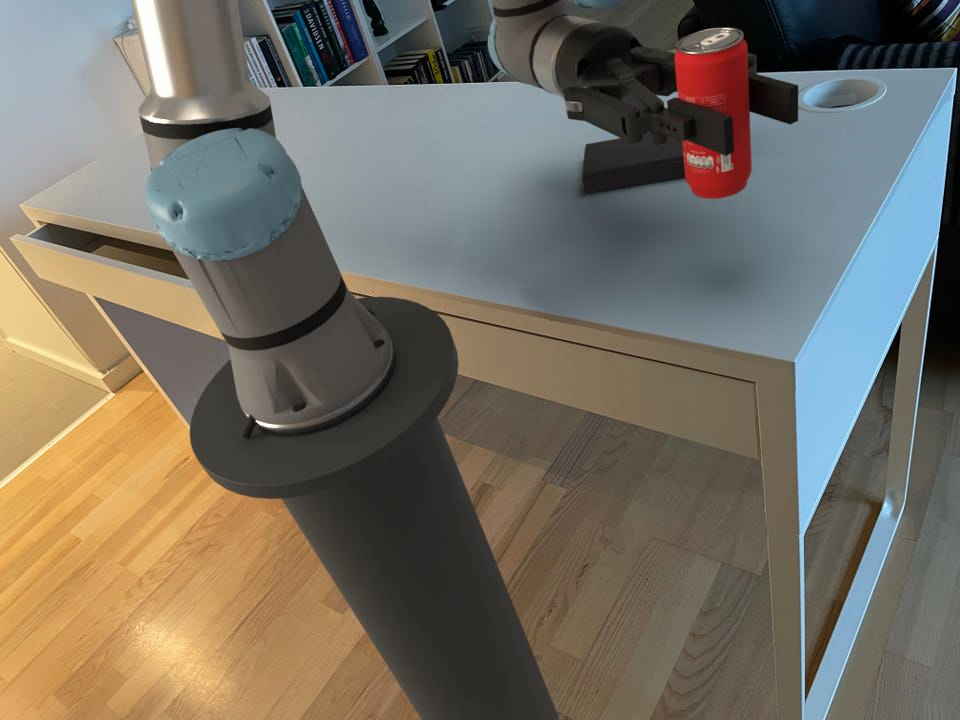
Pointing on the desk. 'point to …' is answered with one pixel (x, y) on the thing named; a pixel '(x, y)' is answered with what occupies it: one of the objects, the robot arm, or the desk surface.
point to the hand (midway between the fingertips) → (761, 120)
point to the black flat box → (631, 163)
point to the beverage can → (716, 107)
